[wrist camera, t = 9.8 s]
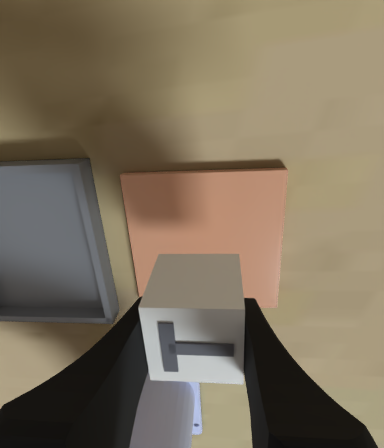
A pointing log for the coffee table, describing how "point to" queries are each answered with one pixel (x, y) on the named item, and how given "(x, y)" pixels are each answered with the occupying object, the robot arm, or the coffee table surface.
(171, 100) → the coffee table surface
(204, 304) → the letter cube
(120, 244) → the coffee table surface
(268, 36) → the coffee table surface
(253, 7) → the coffee table surface
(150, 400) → the robot arm
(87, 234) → the sorting tray
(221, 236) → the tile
